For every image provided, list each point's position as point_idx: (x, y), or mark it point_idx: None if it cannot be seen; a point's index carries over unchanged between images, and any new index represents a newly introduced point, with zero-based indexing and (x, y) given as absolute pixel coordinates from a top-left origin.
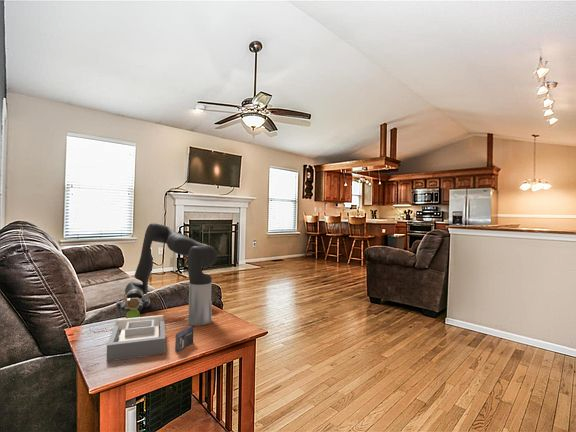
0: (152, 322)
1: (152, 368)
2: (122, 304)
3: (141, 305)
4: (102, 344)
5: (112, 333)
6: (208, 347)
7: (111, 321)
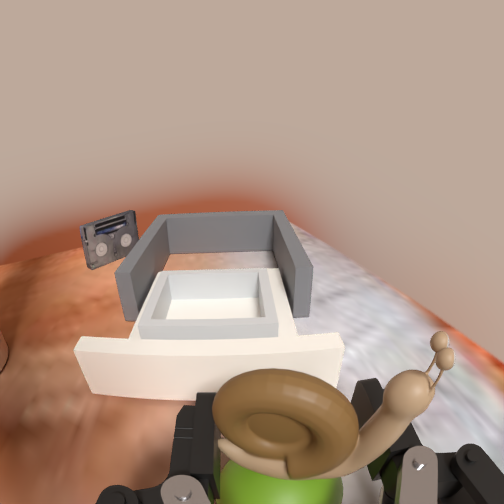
0: (154, 299)
1: None
2: (420, 449)
3: (187, 410)
4: (332, 296)
5: (293, 235)
6: (76, 252)
7: None
